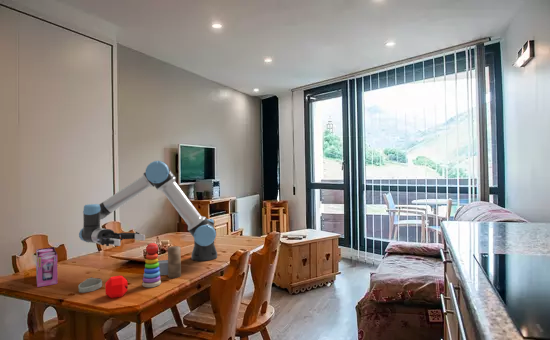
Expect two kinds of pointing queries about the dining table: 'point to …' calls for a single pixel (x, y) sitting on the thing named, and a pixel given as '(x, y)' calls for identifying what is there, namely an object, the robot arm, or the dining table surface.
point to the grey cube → (163, 267)
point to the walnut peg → (174, 262)
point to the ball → (116, 286)
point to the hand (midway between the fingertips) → (132, 240)
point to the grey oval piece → (90, 285)
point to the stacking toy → (151, 267)
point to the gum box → (46, 266)
